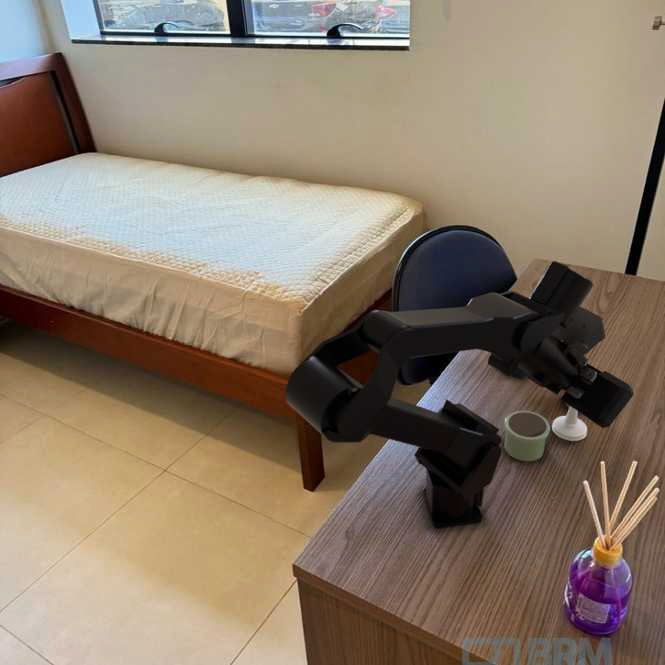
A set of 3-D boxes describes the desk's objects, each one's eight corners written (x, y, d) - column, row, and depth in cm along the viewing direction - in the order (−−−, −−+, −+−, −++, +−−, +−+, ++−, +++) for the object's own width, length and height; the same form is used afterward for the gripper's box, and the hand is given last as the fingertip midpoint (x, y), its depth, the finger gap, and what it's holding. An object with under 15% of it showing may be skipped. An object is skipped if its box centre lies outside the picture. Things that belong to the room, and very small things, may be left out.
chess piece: (545, 423, 92) (554, 369, 87) (573, 415, 93) (584, 362, 88) (564, 444, 88) (575, 389, 83) (594, 436, 89) (606, 381, 84)
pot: (511, 465, 86) (514, 441, 84) (496, 436, 92) (498, 413, 89) (553, 460, 87) (557, 436, 84) (536, 431, 92) (539, 407, 89)
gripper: (640, 332, 69) (678, 378, 80) (520, 273, 83) (565, 318, 94) (581, 411, 71) (625, 445, 81) (472, 339, 84) (522, 376, 95)
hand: (583, 391), depth 87 cm, fingers closed on chess piece
